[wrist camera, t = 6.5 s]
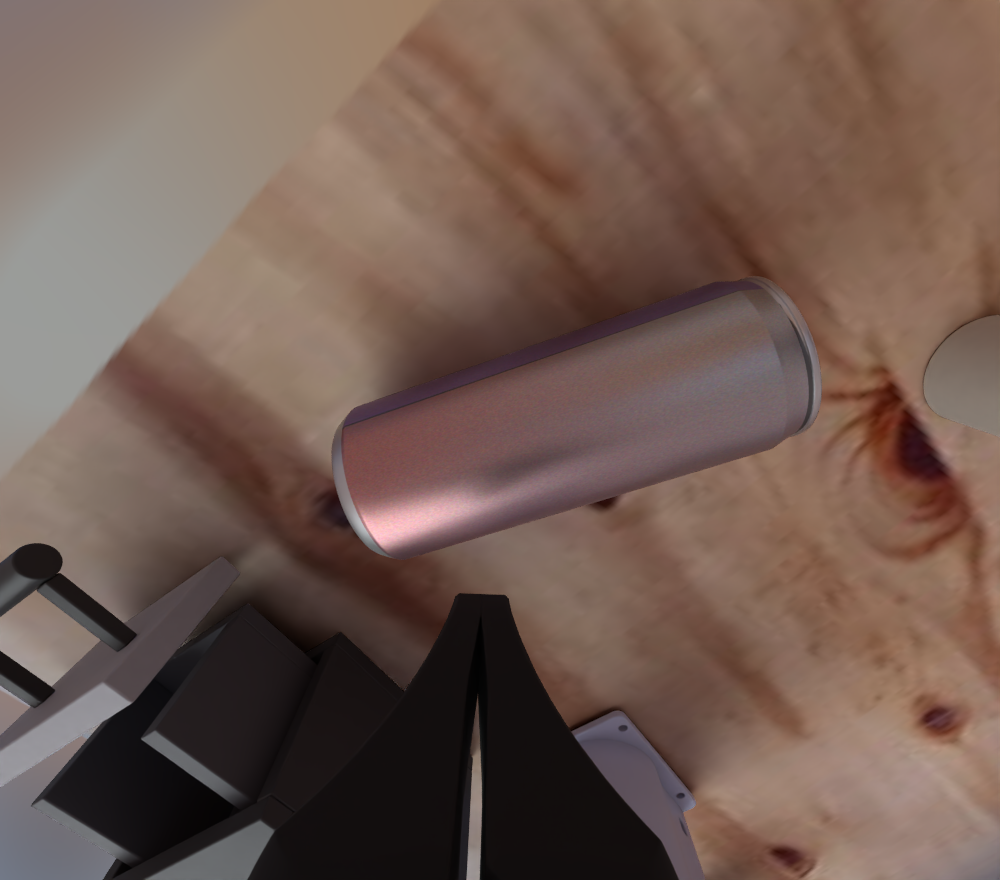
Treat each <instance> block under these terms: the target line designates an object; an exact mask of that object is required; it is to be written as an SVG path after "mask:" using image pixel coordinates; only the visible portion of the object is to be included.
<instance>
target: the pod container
mask: <svg viewBox="0 0 1000 880" xmlns="http://www.w3.org/2000/svg"><path fill="white" fill-rule="evenodd" d="M923 390H924V396H925V399H926V401H927V403H928V405H929V406H930V408H931V409H932V410H933V411H934V412H935V413H936V414H938V415H939V416H941V417H943V418H946V419H949V420H951V421H954V422H957V423H960V424H963V425H966V426H969V427H972V428H975V429H977V430H980V431H983V432H986V433H989V434H992V435H995V436H998V437H1000V315H993V316H987V317H984V318H980V319H977V320H975V321H972V322H970V323H968V324H966V325H964V326H963V327H961V328H959V329H958V330H956V331H955V332H954V333H953V334H951V335H950V336H949V337H948V338H947V339H946V340H945V341H944V342H943V343H942V344H941V345H940V346H939V347H938V349H937V350H936V352H935V353H934V355H933V356H932V358H931V360H930V362H929V364H928V366H927V369H926V372H925V376H924V381H923Z"/></svg>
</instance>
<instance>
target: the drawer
mask: <svg viewBox="0 0 1000 880" xmlns="http://www.w3.org/2000/svg"><path fill="white" fill-rule="evenodd" d="M62 563H63V561H62V557H61V555H60V553H59V552H58V551H57V550H56V549H55V548H53V547H51V546H49V545H46V544H40V543H34V544H28V545H25V546H22V547H20V548H19V549H17V550H16V551H15V552H13V553H12V554H11V555H10V556H9V557H7V558H6V559H5V560H4V561H2V562H1V563H0V617H1V616H2V615H3V614H5V613H6V612H7V611H9V610H10V609H11V608H13V607H14V606H15V605H17V604H18V603H19V602H20V601H22V600H23V599H24V598H26V597H27V596H28V595H30V594H31V593H32V592H34V591H35V590H36V589H37V591H38V592H39V593H40V594H41V595H43V596H44V597H45V598H47V599H48V600H49V601H51V602H52V603H53V604H55V605H56V606H57V607H58V608H60V609H61V610H62V611H64V612H65V613H66V614H68V615H69V616H70V617H71V618H73V619H74V620H75V621H77V622H78V623H79V624H81V625H82V626H83V627H85V628H86V629H87V630H88V631H90V632H91V633H92V634H94V635H95V636H96V637H98V638H99V639H100V640H101V641H100V642H99V643H97V644H96V645H95V646H94V647H93V648H92V649H91V650H90V651H89V652H88V653H87V654H86V655H85V656H84V657H83V658H82V659H81V660H80V661H78V662H77V663H76V664H75V665H74V666H73V667H72V668H71V669H70V670H69V671H68V672H67V673H66V674H65V675H64V676H63V677H62V678H61V679H59V680H58V681H57V682H56V683H55V684H54V685H53V686H52V687H51V686H49V685H48V684H47V683H45V682H44V681H42V680H41V679H39V678H38V677H37V676H35V675H34V674H32V673H31V672H29V671H28V670H27V669H25V668H24V667H22V666H21V665H20V664H18V663H17V662H15V661H14V660H12V659H11V658H10V657H8V656H7V655H5V654H4V653H3V652H1V651H0V686H2V687H3V688H5V689H6V690H8V691H9V692H11V693H12V694H14V695H15V696H17V697H18V698H20V699H21V700H23V701H24V702H25V703H27V704H28V705H30V706H31V707H30V708H29V709H28V710H27V711H26V712H25V713H24V714H23V715H21V716H20V717H19V718H18V719H17V720H16V721H15V722H14V723H13V724H12V725H11V726H10V727H9V728H8V729H7V730H6V731H5V732H4V733H2V734H1V735H0V787H2V786H3V785H5V784H6V783H8V782H9V781H11V780H13V779H14V778H16V777H17V776H19V775H20V774H22V773H23V772H25V771H27V770H28V769H30V768H31V767H33V766H34V765H36V764H37V763H39V762H41V761H42V760H44V759H45V758H47V757H48V756H50V755H52V754H53V753H55V752H56V751H58V750H60V749H61V748H63V747H64V746H66V745H67V744H69V743H71V742H72V741H74V740H75V739H77V738H78V737H80V736H81V735H83V734H85V733H86V732H88V731H89V730H91V729H92V728H94V727H96V726H97V725H99V724H100V723H101V724H100V726H99V727H98V728H97V729H96V730H95V731H94V733H93V734H92V735H91V736H90V737H89V738H88V739H87V741H86V742H85V743H84V744H83V745H82V746H81V748H80V749H79V750H78V751H77V752H76V753H75V755H74V756H73V757H72V758H71V759H70V760H69V762H68V763H67V764H66V765H65V766H64V767H63V769H62V770H61V771H60V772H59V773H58V774H57V775H56V777H55V778H54V779H53V780H52V781H51V782H50V784H49V785H48V786H47V787H46V788H45V789H44V790H43V792H42V793H41V794H40V795H39V796H38V797H37V799H36V800H35V801H34V802H33V803H32V805H31V807H33V808H35V809H36V810H38V811H40V812H41V813H43V814H45V815H46V816H48V817H49V818H51V819H53V820H54V821H56V822H58V823H60V824H61V825H63V826H64V827H66V828H68V829H69V830H71V831H73V832H74V833H76V834H77V835H79V836H81V837H82V838H84V839H86V840H87V841H89V842H91V843H92V844H94V845H96V846H97V847H99V848H101V849H102V850H104V851H106V852H107V853H109V854H111V855H112V856H114V857H116V858H117V859H119V860H120V861H122V862H124V863H125V864H127V865H129V866H130V867H132V868H134V867H136V866H138V865H139V864H141V863H143V862H145V861H147V860H149V859H151V858H153V857H155V856H157V855H158V854H160V853H162V852H164V851H166V850H168V849H170V848H172V847H174V846H175V845H177V844H179V843H181V842H183V841H185V840H187V839H189V838H191V837H193V836H194V835H196V834H198V833H200V832H202V831H204V830H206V829H208V828H210V827H212V826H213V825H215V824H217V823H219V822H221V821H223V820H225V819H227V818H229V817H230V816H232V815H234V814H236V813H238V812H240V811H242V810H244V809H246V808H248V807H249V806H251V805H253V804H255V803H257V799H258V797H259V795H260V793H261V791H262V788H263V786H264V784H265V782H266V779H267V777H268V775H269V773H270V770H271V768H272V766H273V764H274V762H275V759H276V757H277V755H278V753H279V750H280V748H281V746H282V744H283V742H284V739H285V737H286V735H287V733H288V730H289V728H290V726H291V724H292V722H293V719H294V717H295V715H296V713H297V710H298V708H299V706H300V704H301V702H302V699H303V697H304V695H305V693H306V690H307V688H308V686H309V684H310V681H311V679H312V677H313V675H314V673H315V670H316V668H317V666H318V665H316V664H315V663H314V662H313V661H312V660H311V659H310V658H309V657H308V656H306V655H305V654H304V653H303V652H302V651H301V650H300V649H299V648H298V647H296V646H295V645H294V644H293V643H292V642H291V641H290V640H289V639H288V638H286V637H285V636H284V635H283V634H282V633H281V632H280V631H279V630H278V629H276V628H275V627H274V626H273V625H272V624H271V623H270V622H269V621H268V620H266V619H265V618H264V617H263V616H262V615H261V614H260V613H259V612H257V611H256V610H255V609H254V608H253V607H252V606H251V605H250V604H246V605H245V606H243V607H242V608H240V609H239V610H237V611H236V612H234V613H232V614H231V615H229V616H228V617H226V618H225V619H223V620H222V621H220V622H219V623H217V624H216V625H214V626H213V627H211V628H210V629H208V630H206V631H205V632H203V633H202V634H200V635H199V636H197V637H196V638H194V639H193V640H191V641H190V642H188V643H187V644H185V645H184V646H182V647H180V646H181V645H182V643H183V642H184V641H185V640H186V639H187V637H188V636H189V635H190V634H191V632H192V631H193V630H194V629H195V628H196V626H197V625H198V624H199V623H200V622H201V620H202V619H203V618H204V617H205V616H206V614H207V613H208V612H209V611H210V610H211V608H212V607H213V606H214V605H215V604H216V602H217V601H218V600H219V599H220V598H221V596H222V595H223V594H224V593H225V592H226V590H227V589H228V588H229V587H230V586H231V584H232V583H233V582H234V581H235V580H236V578H237V577H238V576H239V575H240V572H239V571H238V570H237V569H236V568H235V567H234V566H233V565H232V564H231V563H229V562H228V561H227V560H226V559H225V558H224V557H223V556H221V557H219V558H218V559H216V560H215V561H213V562H212V563H210V564H209V565H208V566H206V567H205V568H203V569H202V570H200V571H199V572H198V573H196V574H195V575H193V576H192V577H190V578H189V579H187V580H186V581H185V582H183V583H182V584H180V585H179V586H177V587H176V588H174V589H173V590H172V591H170V592H169V593H167V594H166V595H164V596H163V597H162V598H160V599H159V600H157V601H156V602H154V603H153V604H151V605H150V606H149V607H147V608H146V609H144V610H143V611H141V612H140V613H139V614H137V615H136V616H134V617H133V618H131V619H130V620H128V621H127V622H126V623H123V622H121V621H120V620H119V619H118V618H116V617H115V616H114V615H113V614H111V613H110V612H109V611H108V610H106V609H105V608H104V607H103V606H101V605H100V604H99V603H98V602H96V601H95V600H94V599H92V598H91V597H90V596H89V595H87V594H86V593H85V592H84V591H82V590H81V589H80V588H79V587H77V586H76V585H75V584H74V583H72V582H71V581H70V580H69V579H67V578H66V577H65V576H64V575H62V574H61V573H58V572H59V571H60V569H61V567H62ZM57 573H58V574H57ZM179 647H180V648H179ZM178 648H179V649H178Z"/></svg>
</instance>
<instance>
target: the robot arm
mask: <svg viewBox="0 0 1000 880" xmlns="http://www.w3.org/2000/svg"><path fill="white" fill-rule="evenodd" d="M477 696H478V704H479V727H480V750H481V772H482V829H481V860H480V880H705V877H704V874H703V871H702V868H701V865H700V862H699V859H698V856H697V853H696V850H695V847H694V844H693V841H692V838H691V835H690V832H689V829H688V826H687V823H686V820H685V817H684V814H683V812H684V811H687V810H689V809H692V808H693V807H694V806H695V805H696V801H695V798H694V796H693V794H692V793H691V792H690V791H689V790H688V789H687V787H686V786H685V785H684V784H683V783H682V781H681V780H680V779H679V778H678V777H677V775H676V774H675V773H674V772H673V771H672V769H671V768H670V767H669V766H668V765H667V763H666V762H665V761H664V760H663V759H662V757H661V756H660V755H659V754H658V753H657V751H656V750H655V749H654V748H653V747H652V745H651V744H650V743H649V742H648V741H647V739H646V738H645V737H644V736H643V735H642V733H641V732H640V731H639V730H638V729H637V727H636V726H635V725H634V724H633V723H632V722H631V720H630V719H629V718H628V717H627V716H626V714H625V713H624V712H622V711H613V712H611V713H609V714H607V715H604V716H602V717H600V718H598V719H596V720H594V721H592V722H590V723H588V724H586V725H584V726H581V727H579V728H577V729H575V730H573V731H570V729H569V728H568V726H567V725H566V723H565V722H564V720H563V718H562V717H561V715H560V714H559V712H558V710H557V709H556V707H555V706H554V704H553V702H552V701H551V699H550V697H549V695H548V694H547V692H546V690H545V688H544V686H543V684H542V682H541V681H540V679H539V677H538V675H537V673H536V671H535V669H534V667H533V665H532V663H531V661H530V658H529V656H528V654H527V652H526V649H525V647H524V645H523V643H522V640H521V638H520V635H519V632H518V630H517V627H516V624H515V621H514V618H513V615H512V611H511V608H510V603H509V598H508V597H507V596H506V595H492V594H463V593H459V594H458V595H457V596H455V599H454V602H453V605H452V608H451V611H450V613H449V615H448V618H447V620H446V622H445V624H444V626H443V628H442V630H441V632H440V634H439V636H438V638H437V640H436V642H435V643H434V645H433V647H432V649H431V651H430V653H429V654H428V656H427V658H426V659H425V661H424V663H423V664H422V666H421V667H420V669H419V670H418V672H417V674H416V675H415V677H414V678H413V680H412V681H411V683H410V684H409V686H408V687H407V689H406V690H405V692H404V693H403V695H402V696H401V697H400V699H399V700H398V701H397V703H396V704H395V705H394V707H393V708H392V709H391V711H390V712H389V713H388V715H387V716H386V717H385V718H384V720H383V721H382V722H381V723H380V724H379V726H378V727H377V728H376V729H375V730H374V732H373V733H372V734H371V735H370V737H369V738H368V739H367V740H366V741H365V742H364V743H363V745H362V746H361V747H360V748H359V749H358V750H357V751H356V752H355V753H354V754H353V756H352V757H351V758H350V759H349V760H348V761H347V762H346V763H345V764H344V765H343V766H342V767H341V768H340V769H339V770H338V771H337V772H336V773H335V774H334V775H333V776H332V777H331V778H330V780H329V781H328V782H327V783H326V784H325V785H324V786H323V787H322V788H321V789H319V790H318V791H317V792H316V793H315V794H314V795H313V796H312V797H311V798H310V799H309V800H308V801H307V802H305V803H304V804H303V805H302V806H301V807H300V808H299V809H298V810H297V811H296V812H294V813H293V814H292V815H291V816H290V817H289V818H288V819H287V820H286V821H285V822H284V823H282V824H281V825H280V826H279V827H278V828H277V829H276V830H275V831H274V833H273V834H272V836H271V837H270V839H269V841H268V843H267V844H266V846H265V848H264V849H263V851H262V853H261V855H260V856H259V858H258V860H257V862H256V864H255V866H254V868H253V870H252V871H251V874H250V875H249V877H248V879H247V880H459V868H460V851H461V834H462V818H463V803H464V793H465V784H466V776H467V769H468V762H469V755H470V747H471V740H472V733H473V726H474V718H475V711H476V704H477Z"/></svg>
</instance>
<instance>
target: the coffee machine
mask: <svg viewBox="0 0 1000 880" xmlns="http://www.w3.org/2000/svg"><path fill="white" fill-rule="evenodd" d="M305 655H306V656H308V657H309V658H310V659H311V660H312V661H313V662H314V663H315V664H316V665H318V666H317V668H316V670H315V673H314V675H313V677H312V679H311V681H310V684H309V686H308V688H307V690H306V693H305V695H304V697H303V699H302V702H301V704H300V706H299V708H298V710H297V713H296V715H295V717H294V719H293V722H292V724H291V726H290V728H289V730H288V733H287V735H286V737H285V739H284V742H283V744H282V746H281V748H280V750H279V753H278V755H277V757H276V759H275V762H274V764H273V766H272V768H271V770H270V773H269V775H268V777H267V779H266V782H265V784H264V786H263V788H262V791H261V793H260V795H259V797H258V799H257V803H255V804H253V805H251V806H249V807H248V808H246V809H244V810H242V811H240V812H238V813H236V814H234V815H232V816H230V817H229V818H227V819H225V820H223V821H221V822H219V823H217V824H215V825H213V826H212V827H210V828H208V829H206V830H204V831H202V832H200V833H198V834H196V835H194V836H193V837H191V838H189V839H187V840H185V841H183V842H181V843H179V844H177V845H175V846H174V847H172V848H170V849H168V850H166V851H164V852H162V853H160V854H158V855H157V856H155V857H153V858H151V859H149V860H147V861H145V862H143V863H141V864H139V865H138V866H136V867H134V868H132V867H130V866H129V865H127V864H125V863H124V862H122V861H120V860H119V859H117V858H116V860H115V862H114V863H113V865H112V866H111V868H110V869H109V871H108V872H107V874H106V876H105V877H104V879H103V880H247V879H248V877H249V875H250V874H251V871H252V870H253V868H254V866H255V864H256V862H257V860H258V858H259V856H260V855H261V853H262V851H263V849H264V848H265V846H266V844H267V843H268V841H269V839H270V837H271V836H272V834H273V833H274V831H275V830H276V829H277V828H278V827H279V826H280V825H281V824H282V823H284V822H285V821H286V820H287V819H288V818H289V817H290V816H291V815H292V814H293V813H294V812H296V811H297V810H298V809H299V808H300V807H301V806H302V805H303V804H304V803H305V802H307V801H308V800H309V799H310V798H311V797H312V796H313V795H314V794H315V793H316V792H317V791H318V790H319V789H321V788H322V787H323V786H324V785H325V784H326V783H327V782H328V781H329V780H330V778H331V777H332V776H333V775H334V774H335V773H336V772H337V771H338V770H339V769H340V768H341V767H342V766H343V765H344V764H345V763H346V762H347V761H348V760H349V759H350V758H351V757H352V756H353V754H354V753H355V752H356V751H357V750H358V749H359V748H360V747H361V746H362V745H363V743H364V742H365V741H366V740H367V739H368V738H369V737H370V735H371V734H372V733H373V732H374V730H375V729H376V728H377V727H378V726H379V724H380V723H381V722H382V721H383V720H384V718H385V717H386V716H387V715H388V713H389V712H390V711H391V709H392V708H393V707H394V705H395V704H396V703H397V701H398V700H399V699H400V697H401V696H402V695H403V693H404V692H403V691H402V690H401V689H400V688H399V687H398V686H397V685H396V684H395V683H394V682H393V681H392V680H391V679H390V678H388V677H387V676H386V675H385V674H384V673H383V672H382V671H381V670H380V669H379V668H378V667H377V666H376V665H375V664H374V663H373V662H372V661H371V660H370V659H368V658H367V657H366V656H365V655H364V654H363V653H362V652H361V651H360V650H359V649H358V648H357V647H356V646H355V645H354V644H353V643H352V642H351V641H350V640H348V639H347V638H346V637H345V636H344V635H343V634H342V633H341V632H340V633H338V634H336V635H335V636H333V637H331V638H330V639H328V640H327V641H325V642H323V643H322V644H320V645H318V646H317V647H315V648H313V649H312V650H310V651H308V652H307V653H305ZM472 762H473V758H472V756H471V755H469V762H468V769H467V776H466V784H465V793H464V803H463V818H462V834H461V851H460V868H459V880H466V876H467V857H468V838H469V818H470V799H471V780H472Z"/></svg>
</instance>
